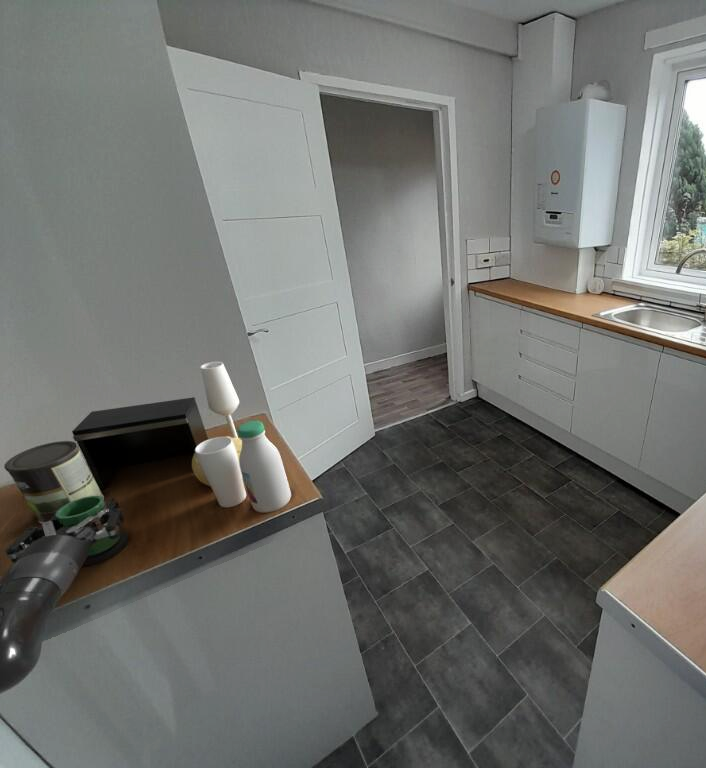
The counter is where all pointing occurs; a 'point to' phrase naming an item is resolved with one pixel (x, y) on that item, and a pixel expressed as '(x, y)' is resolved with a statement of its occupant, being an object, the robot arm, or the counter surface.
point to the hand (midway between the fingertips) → (89, 507)
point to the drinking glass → (222, 470)
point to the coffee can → (52, 477)
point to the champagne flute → (220, 392)
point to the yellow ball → (197, 468)
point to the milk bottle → (262, 469)
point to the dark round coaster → (108, 551)
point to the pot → (79, 512)
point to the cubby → (138, 436)
